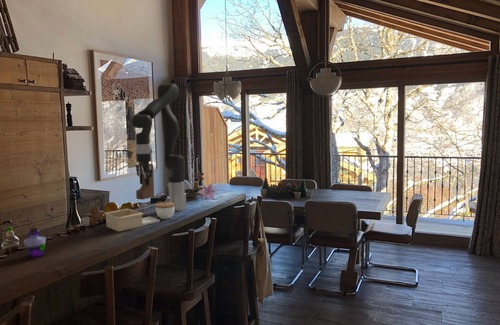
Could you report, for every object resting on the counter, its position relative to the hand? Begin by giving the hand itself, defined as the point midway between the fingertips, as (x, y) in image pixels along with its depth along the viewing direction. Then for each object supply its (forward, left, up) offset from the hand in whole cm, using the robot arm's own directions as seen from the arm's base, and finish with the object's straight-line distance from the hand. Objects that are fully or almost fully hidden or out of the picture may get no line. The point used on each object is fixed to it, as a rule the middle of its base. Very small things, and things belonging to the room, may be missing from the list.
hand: (144, 184), depth 212 cm
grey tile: (0, 0, -20) cm, 20 cm away
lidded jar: (-12, 0, -21) cm, 24 cm away
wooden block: (0, 0, -8) cm, 8 cm away
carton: (+13, 0, -20) cm, 24 cm away
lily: (-62, -26, -21) cm, 70 cm away
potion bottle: (+59, +15, -21) cm, 64 cm away
